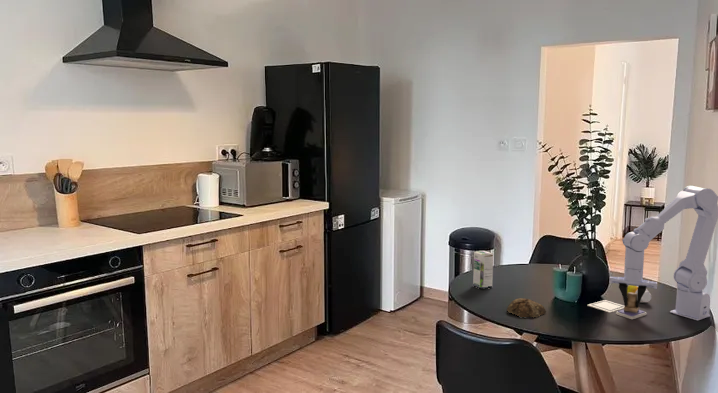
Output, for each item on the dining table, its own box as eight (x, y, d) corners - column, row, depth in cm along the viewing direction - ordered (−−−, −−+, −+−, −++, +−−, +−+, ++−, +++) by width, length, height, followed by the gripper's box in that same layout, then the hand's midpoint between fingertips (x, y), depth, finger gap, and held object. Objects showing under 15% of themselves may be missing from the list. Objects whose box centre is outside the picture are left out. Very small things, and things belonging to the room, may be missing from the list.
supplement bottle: (622, 296, 207) (639, 305, 197) (622, 282, 207) (639, 290, 197) (636, 295, 208) (653, 303, 198) (636, 281, 207) (653, 289, 197)
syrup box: (472, 286, 222) (473, 251, 220) (484, 284, 225) (484, 249, 223) (481, 290, 217) (481, 254, 215) (493, 287, 219) (493, 252, 217)
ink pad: (646, 314, 187) (646, 311, 187) (632, 319, 183) (632, 316, 183) (630, 309, 192) (630, 306, 192) (616, 314, 188) (616, 310, 188)
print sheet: (627, 307, 195) (627, 306, 195) (609, 312, 190) (609, 311, 190) (604, 300, 202) (604, 299, 202) (587, 305, 197) (587, 304, 197)
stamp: (638, 310, 188) (639, 293, 187) (636, 313, 185) (637, 296, 184) (626, 308, 190) (627, 291, 190) (623, 311, 187) (624, 294, 186)
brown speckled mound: (518, 304, 201) (518, 291, 200) (549, 312, 192) (550, 298, 191) (499, 313, 192) (499, 299, 191) (531, 322, 183) (532, 307, 182)
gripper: (658, 267, 185) (656, 305, 187) (611, 262, 192) (609, 299, 194) (657, 272, 179) (655, 312, 181) (609, 266, 186) (607, 305, 188)
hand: (631, 305), depth 187 cm, fingers closed on stamp, 3 cm apart
